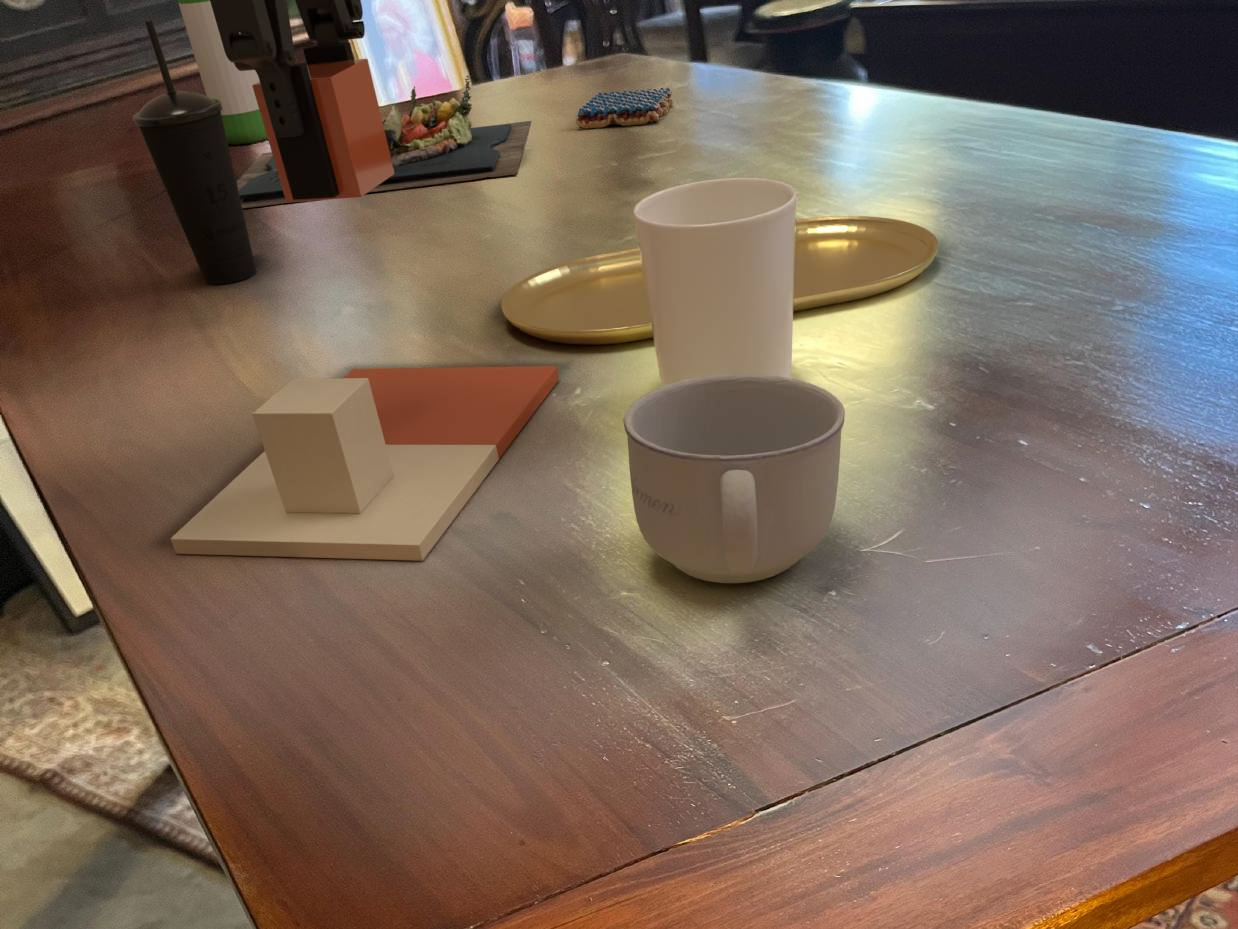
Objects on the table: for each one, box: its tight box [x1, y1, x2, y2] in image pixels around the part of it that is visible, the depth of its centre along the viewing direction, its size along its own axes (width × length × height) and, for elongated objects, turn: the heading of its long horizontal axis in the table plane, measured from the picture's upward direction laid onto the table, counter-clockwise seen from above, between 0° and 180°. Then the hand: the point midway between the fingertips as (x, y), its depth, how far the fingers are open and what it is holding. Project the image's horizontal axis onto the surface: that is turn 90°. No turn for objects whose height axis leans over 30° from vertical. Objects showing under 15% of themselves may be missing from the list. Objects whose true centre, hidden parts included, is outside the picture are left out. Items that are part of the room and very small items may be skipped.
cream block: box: [252, 377, 394, 514], centre depth 71 cm, size 5×5×6 cm
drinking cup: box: [132, 19, 257, 286], centre depth 107 cm, size 8×8×20 cm
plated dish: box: [236, 74, 532, 209], centre depth 140 cm, size 35×28×7 cm
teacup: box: [622, 374, 846, 584], centre depth 61 cm, size 14×11×8 cm
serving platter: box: [500, 215, 939, 346], centre depth 96 cm, size 19×35×2 cm, turn 103°
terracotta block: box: [252, 58, 394, 203], centre depth 71 cm, size 5×5×6 cm
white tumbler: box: [632, 177, 798, 387], centre depth 76 cm, size 10×10×12 cm
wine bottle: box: [177, 0, 268, 146], centre depth 151 cm, size 8×8×30 cm
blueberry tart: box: [574, 87, 674, 129], centre depth 146 cm, size 10×11×2 cm
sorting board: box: [169, 365, 560, 562], centre depth 78 cm, size 16×26×1 cm, turn 166°
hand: (337, 182), depth 73 cm, fingers closed on terracotta block, 5 cm apart
